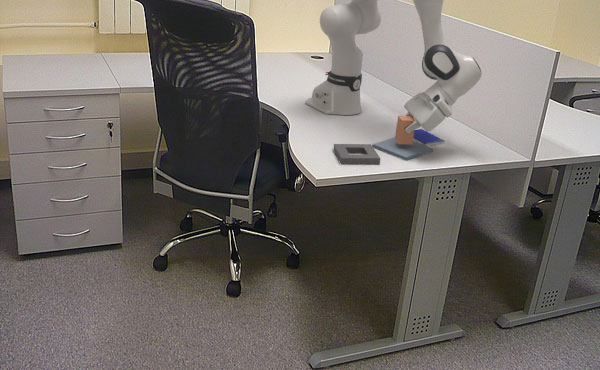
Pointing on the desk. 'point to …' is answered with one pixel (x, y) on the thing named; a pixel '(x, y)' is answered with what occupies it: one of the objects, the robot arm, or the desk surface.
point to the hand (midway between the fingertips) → (403, 128)
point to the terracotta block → (401, 134)
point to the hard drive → (427, 138)
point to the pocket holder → (346, 158)
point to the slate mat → (402, 149)
